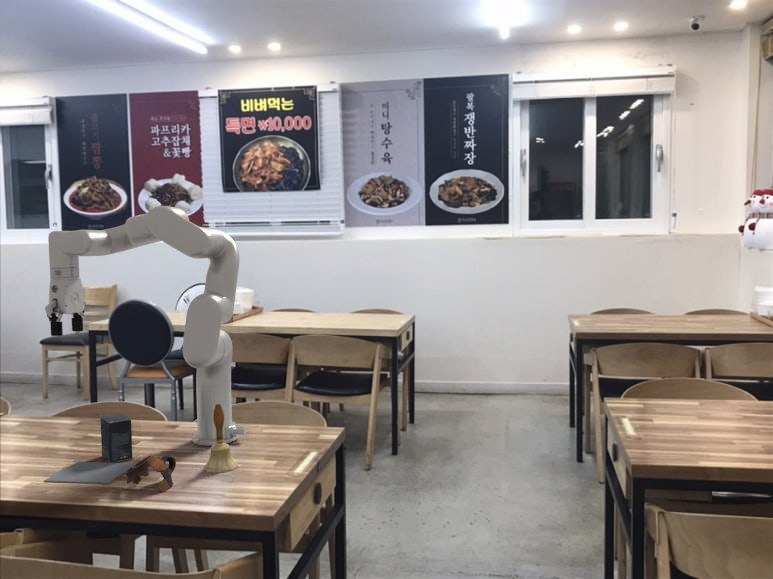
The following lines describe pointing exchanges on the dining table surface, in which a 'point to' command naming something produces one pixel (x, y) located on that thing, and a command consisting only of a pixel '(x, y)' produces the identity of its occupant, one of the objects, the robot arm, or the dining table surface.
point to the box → (116, 438)
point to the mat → (91, 472)
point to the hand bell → (220, 448)
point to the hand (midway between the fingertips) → (67, 333)
